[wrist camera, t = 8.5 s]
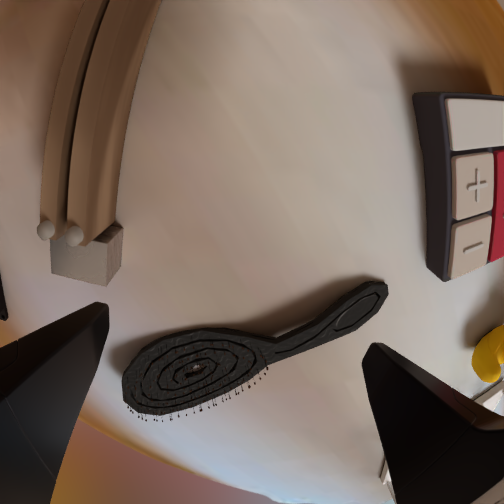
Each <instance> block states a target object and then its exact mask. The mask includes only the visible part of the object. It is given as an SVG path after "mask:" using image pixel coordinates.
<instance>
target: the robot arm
mask: <svg viewBox="0 0 504 504" xmlns="http://www.w3.org/2000/svg"><path fill="white" fill-rule="evenodd" d="M0 319H1V320H4V321H6V320H7V319H8V312H7V308H6V303H5V298H4V293H3V287H2V281H1V275H0ZM108 332H109V307H108V305H107V304H105V303H101V302H94V303H92V304H90V305H88V306H86V307H84V308H81V309H79V310H77V311H75V312H73V313H71V314H69V315H67V316H65V317H63V318H61V319H59V320H56V321H54V322H52V323H50V324H48V325H46V326H44V327H42V328H40V329H38V330H36V331H34V332H32V333H30V334H28V335H26V336H24V337H22V338H20V339H18V341H17V340H15V341H13V342H11V343H9V344H7V345H5V346H3V347H1V348H0V504H50V501H51V498H52V494H53V490H54V487H55V484H56V479H57V476H58V473H59V470H60V467H61V464H62V460H63V457H64V454H65V451H66V448H67V445H68V443H69V440H70V437H71V434H72V431H73V429H74V426H75V423H76V420H77V418H78V415H79V413H80V410H81V408H82V405H83V403H84V400H85V398H86V395H87V393H88V390H89V388H90V385H91V383H92V381H93V378H94V376H95V373H96V371H97V368H98V365H99V361H100V358H101V355H102V351H103V348H104V345H105V342H106V339H107V335H108ZM362 369H363V374H364V378H365V383H366V388H367V393H368V398H369V402H370V405H371V409H372V412H373V415H374V419H375V422H376V426H377V429H378V433H379V436H380V440H381V443H382V447H383V451H384V454H385V458H386V462H387V466H388V470H389V474H390V478H391V482H392V486H393V490H394V494H395V499H396V504H504V416H501V415H498V414H497V413H495V412H493V411H491V410H489V409H487V408H485V407H484V406H482V405H480V404H478V403H476V402H475V401H473V400H471V399H469V398H468V397H466V396H465V395H463V394H461V393H460V392H458V391H457V390H455V389H453V388H451V387H450V386H449V385H447V384H446V383H444V382H442V381H441V380H439V379H438V378H436V377H435V376H433V375H432V374H430V373H428V372H427V371H425V370H424V369H422V368H421V367H419V366H418V365H416V364H414V363H413V362H411V361H410V360H408V359H407V358H405V357H404V356H402V355H401V354H399V353H397V352H396V351H394V350H393V349H391V348H390V347H388V346H387V345H385V344H383V343H376V342H374V343H372V344H371V345H370V347H369V348H368V350H367V352H366V354H365V356H364V358H363V360H362Z"/></svg>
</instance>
